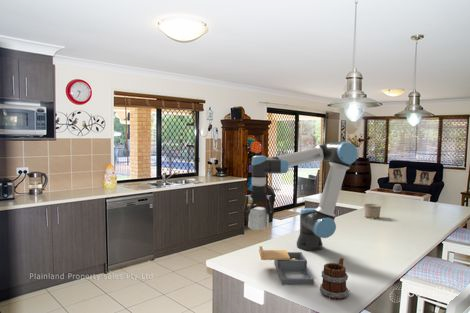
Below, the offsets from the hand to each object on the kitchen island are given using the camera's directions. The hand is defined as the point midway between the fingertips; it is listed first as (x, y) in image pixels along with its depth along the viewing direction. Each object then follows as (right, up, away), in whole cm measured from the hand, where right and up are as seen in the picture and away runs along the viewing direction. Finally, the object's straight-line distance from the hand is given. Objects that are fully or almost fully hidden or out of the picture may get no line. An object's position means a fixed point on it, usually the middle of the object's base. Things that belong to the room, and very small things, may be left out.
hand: (258, 226), depth 178 cm
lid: (+7, -12, -12) cm, 18 cm away
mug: (+30, -20, -37) cm, 52 cm away
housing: (+15, -19, -17) cm, 30 cm away
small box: (0, -1, 0) cm, 1 cm away
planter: (+100, -13, +97) cm, 140 cm away
